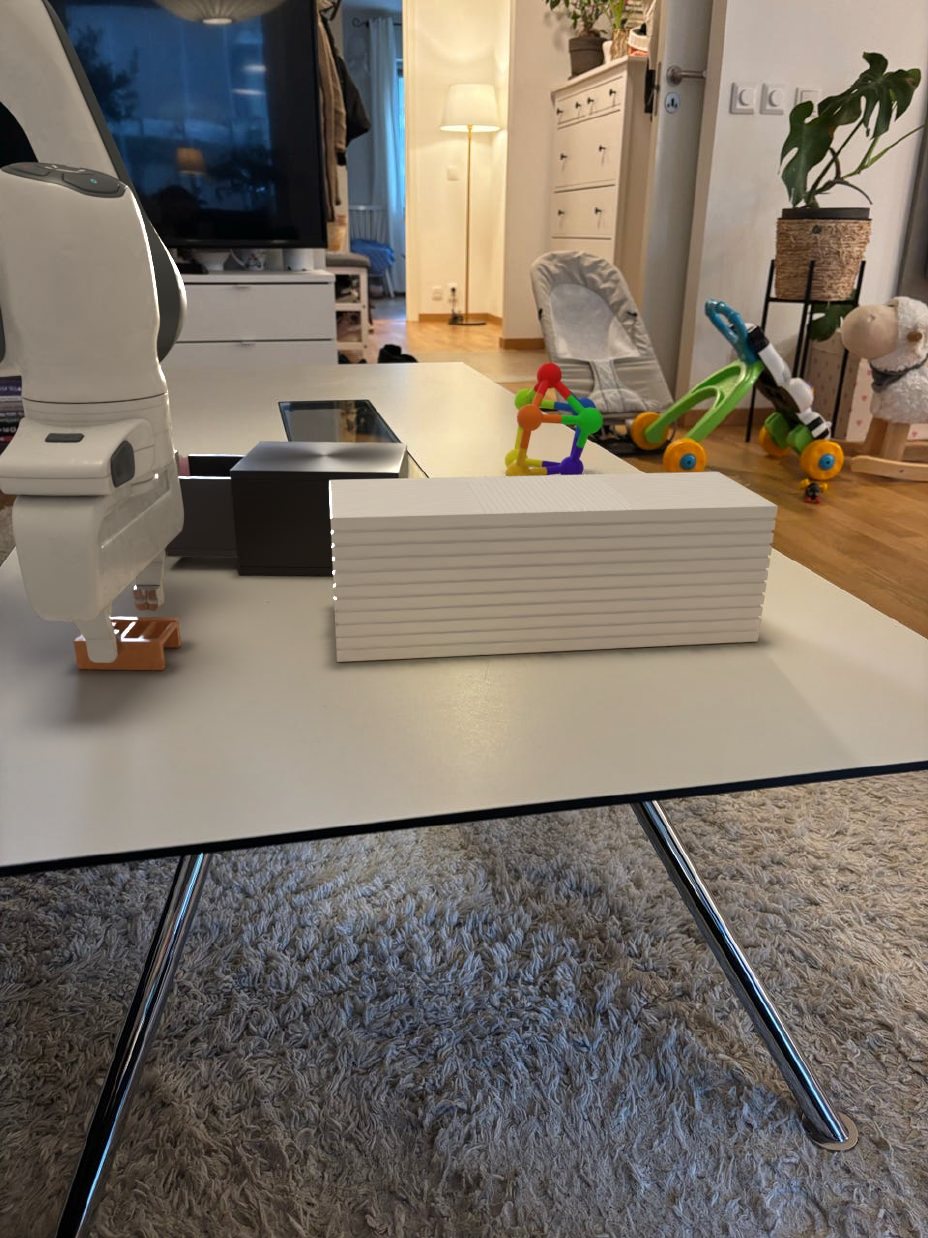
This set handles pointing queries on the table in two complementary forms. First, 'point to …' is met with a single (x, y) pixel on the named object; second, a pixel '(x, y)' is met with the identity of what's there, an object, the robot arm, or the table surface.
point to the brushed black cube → (298, 500)
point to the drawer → (206, 508)
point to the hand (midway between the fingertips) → (129, 631)
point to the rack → (136, 644)
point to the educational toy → (532, 418)
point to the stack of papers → (545, 563)
